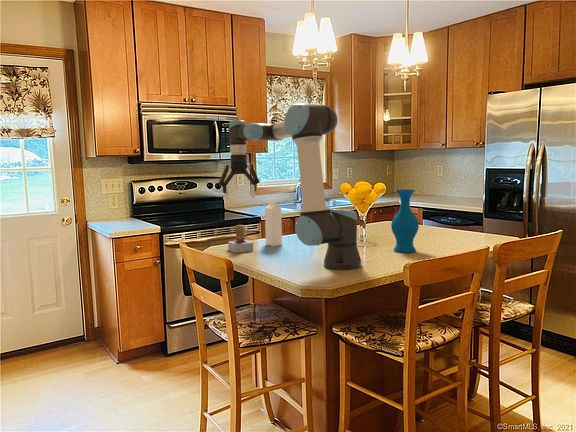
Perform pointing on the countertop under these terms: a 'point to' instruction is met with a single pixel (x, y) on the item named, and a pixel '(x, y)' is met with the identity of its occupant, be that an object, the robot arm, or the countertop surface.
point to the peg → (240, 234)
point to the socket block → (240, 246)
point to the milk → (273, 224)
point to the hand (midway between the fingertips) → (240, 199)
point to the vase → (404, 224)
